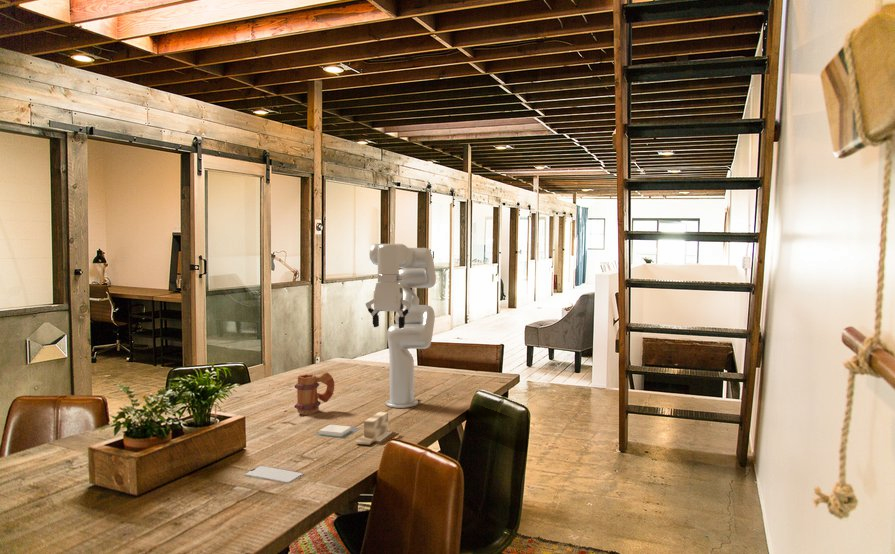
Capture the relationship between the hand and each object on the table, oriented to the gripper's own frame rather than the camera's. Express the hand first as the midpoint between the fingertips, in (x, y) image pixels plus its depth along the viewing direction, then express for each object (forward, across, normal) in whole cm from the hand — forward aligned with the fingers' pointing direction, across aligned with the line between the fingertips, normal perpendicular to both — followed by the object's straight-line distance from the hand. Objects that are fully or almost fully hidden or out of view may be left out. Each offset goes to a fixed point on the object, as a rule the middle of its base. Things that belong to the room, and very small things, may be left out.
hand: (388, 327), depth 217 cm
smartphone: (+34, +9, +58) cm, 68 cm away
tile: (+32, +10, +18) cm, 38 cm away
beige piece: (+32, -4, +22) cm, 39 cm away
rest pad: (+33, -4, +20) cm, 39 cm away
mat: (+33, +10, +20) cm, 40 cm away
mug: (+34, +30, 0) cm, 45 cm away
